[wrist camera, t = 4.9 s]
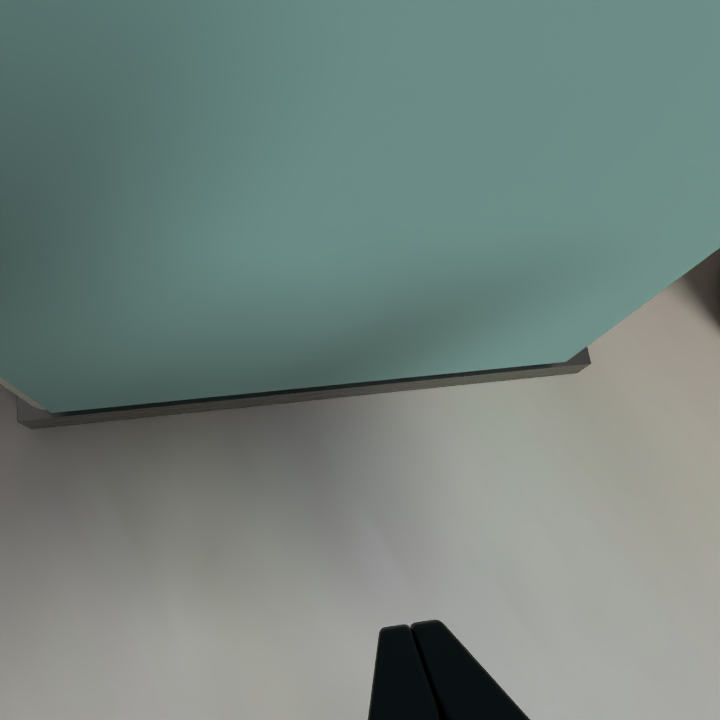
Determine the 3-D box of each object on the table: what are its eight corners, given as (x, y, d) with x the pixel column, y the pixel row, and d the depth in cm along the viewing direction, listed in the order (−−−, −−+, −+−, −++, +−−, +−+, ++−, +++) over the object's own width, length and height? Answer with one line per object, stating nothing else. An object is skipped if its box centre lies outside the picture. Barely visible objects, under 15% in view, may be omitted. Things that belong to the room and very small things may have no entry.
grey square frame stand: (577, 372, 21) (1451, -217, 5) (30, 429, 19) (-1261, -315, 3) (508, 75, 24) (935, -853, 8) (31, 92, 22) (-605, -1140, 6)
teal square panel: (565, 362, 20) (1092, -29, 7) (31, 415, 17) (-630, -4, 5) (557, 329, 20) (1051, -104, 7) (31, 378, 18) (-593, -112, 5)
